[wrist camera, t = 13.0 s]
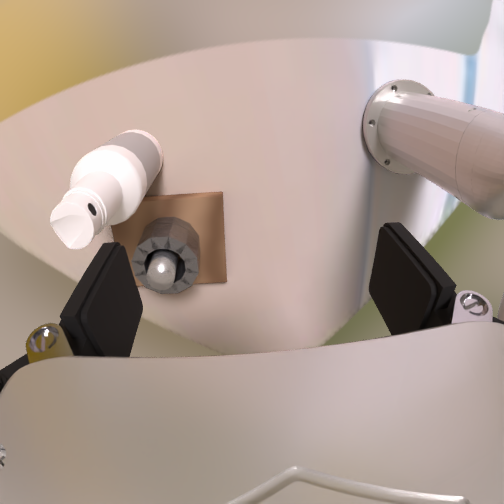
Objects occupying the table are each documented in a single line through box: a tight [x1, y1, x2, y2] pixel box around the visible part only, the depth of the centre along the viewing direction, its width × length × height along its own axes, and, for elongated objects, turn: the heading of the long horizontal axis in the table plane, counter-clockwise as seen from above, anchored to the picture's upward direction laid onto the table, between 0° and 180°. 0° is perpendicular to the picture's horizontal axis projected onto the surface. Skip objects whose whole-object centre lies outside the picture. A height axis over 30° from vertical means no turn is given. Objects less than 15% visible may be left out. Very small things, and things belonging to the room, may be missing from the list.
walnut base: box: [111, 192, 227, 286], centre depth 38 cm, size 14×12×2 cm
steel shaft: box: [146, 249, 179, 290], centre depth 34 cm, size 3×3×7 cm
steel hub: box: [131, 216, 200, 294], centre depth 35 cm, size 7×7×5 cm
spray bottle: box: [50, 130, 163, 249], centre depth 25 cm, size 7×7×18 cm
